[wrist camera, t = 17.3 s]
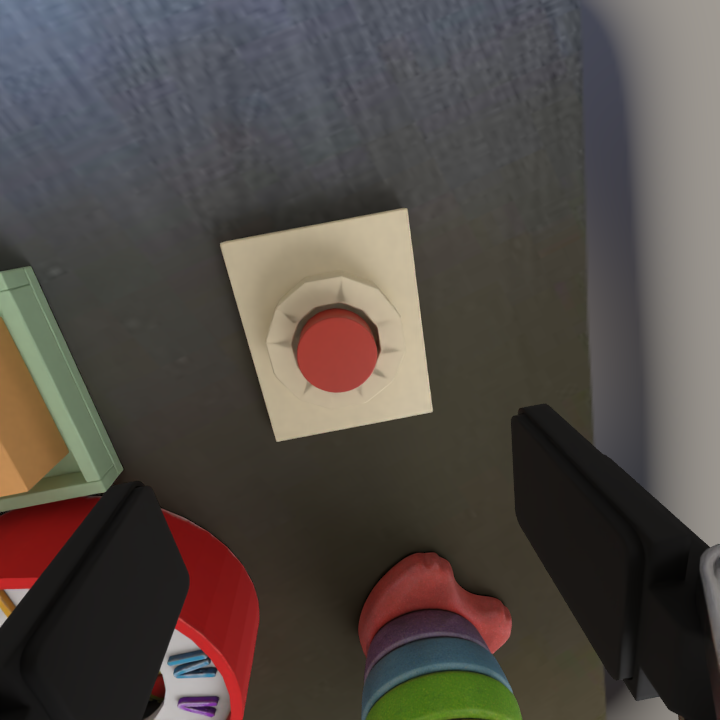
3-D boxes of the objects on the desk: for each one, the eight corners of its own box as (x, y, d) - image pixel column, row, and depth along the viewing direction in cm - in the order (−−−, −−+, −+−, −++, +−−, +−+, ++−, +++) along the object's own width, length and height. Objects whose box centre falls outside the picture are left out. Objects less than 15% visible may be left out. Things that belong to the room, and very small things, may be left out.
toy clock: (103, 848, 28) (-226, 728, 22) (139, 742, 33) (-115, 623, 27) (316, 700, 24) (-9, 505, 18) (318, 608, 30) (70, 435, 23)
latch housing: (225, 241, 20) (208, 246, 18) (403, 207, 21) (414, 208, 18) (278, 431, 24) (272, 460, 22) (428, 403, 24) (441, 428, 22)
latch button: (291, 315, 19) (287, 325, 18) (366, 301, 19) (370, 309, 18) (308, 384, 21) (306, 400, 19) (378, 371, 21) (383, 385, 19)
